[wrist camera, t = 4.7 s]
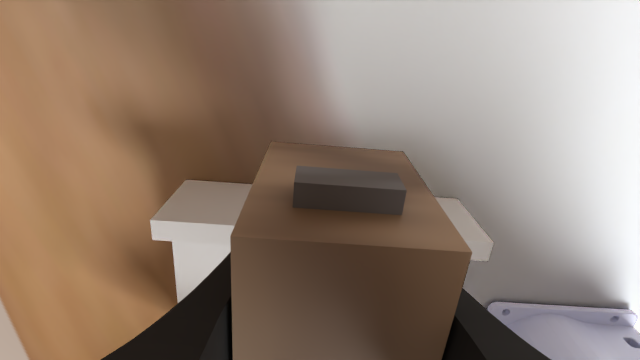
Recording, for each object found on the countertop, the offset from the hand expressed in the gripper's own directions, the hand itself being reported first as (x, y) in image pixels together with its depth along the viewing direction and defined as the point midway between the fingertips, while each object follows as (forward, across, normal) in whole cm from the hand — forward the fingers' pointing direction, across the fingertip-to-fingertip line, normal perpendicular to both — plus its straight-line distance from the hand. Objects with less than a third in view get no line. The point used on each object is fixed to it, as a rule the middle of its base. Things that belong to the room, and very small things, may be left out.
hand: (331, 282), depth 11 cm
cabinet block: (+3, 0, 0) cm, 3 cm away
